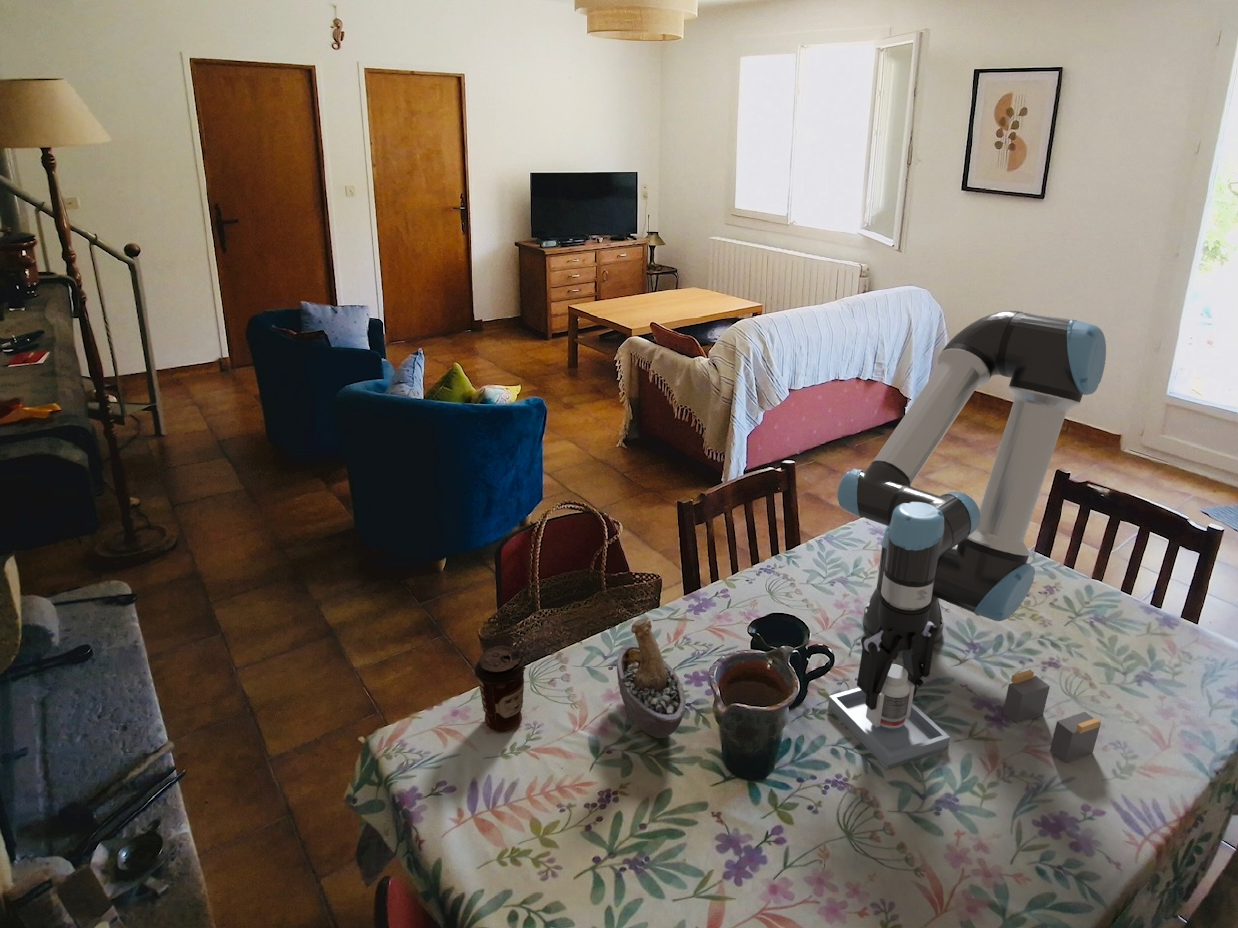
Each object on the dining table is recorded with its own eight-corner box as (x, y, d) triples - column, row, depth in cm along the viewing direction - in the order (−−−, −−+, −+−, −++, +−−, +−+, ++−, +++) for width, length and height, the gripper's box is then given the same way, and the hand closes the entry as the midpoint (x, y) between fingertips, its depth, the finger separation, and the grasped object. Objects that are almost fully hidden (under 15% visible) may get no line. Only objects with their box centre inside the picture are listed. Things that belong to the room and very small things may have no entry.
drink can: (539, 713, 146) (535, 651, 140) (513, 744, 139) (509, 679, 134) (496, 699, 149) (491, 638, 144) (469, 728, 142) (463, 665, 137)
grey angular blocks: (1000, 710, 146) (1007, 676, 143) (1026, 702, 148) (1034, 668, 145) (1067, 764, 134) (1077, 728, 131) (1095, 754, 136) (1105, 719, 133)
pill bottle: (911, 721, 140) (919, 673, 136) (890, 734, 138) (897, 685, 134) (886, 704, 144) (893, 656, 140) (864, 715, 142) (871, 668, 138)
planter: (628, 680, 154) (627, 586, 146) (712, 710, 146) (716, 612, 138) (584, 728, 142) (582, 629, 134) (673, 764, 134) (676, 660, 126)
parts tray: (828, 707, 147) (829, 695, 146) (884, 690, 151) (886, 679, 150) (887, 769, 133) (889, 757, 132) (947, 749, 137) (950, 736, 136)
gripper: (872, 624, 125) (855, 746, 135) (969, 598, 132) (947, 716, 141) (841, 598, 132) (828, 717, 141) (935, 575, 138) (917, 690, 147)
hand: (887, 716), depth 141 cm, fingers closed on pill bottle, 5 cm apart
